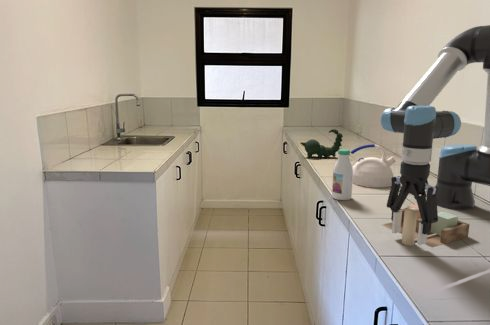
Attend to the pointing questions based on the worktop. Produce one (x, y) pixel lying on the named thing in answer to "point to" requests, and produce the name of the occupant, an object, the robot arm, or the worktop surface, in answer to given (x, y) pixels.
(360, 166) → the kettle
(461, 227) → the lane shelf
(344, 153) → the milk bottle
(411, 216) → the green headed mallet
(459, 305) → the worktop surface
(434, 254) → the worktop surface
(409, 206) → the terracotta block
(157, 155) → the worktop surface
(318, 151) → the toy figurine
